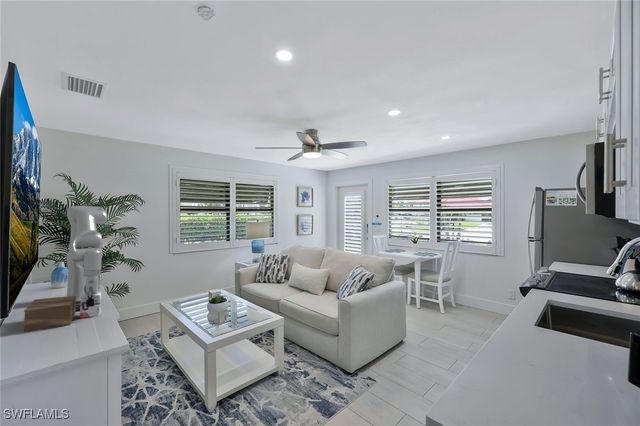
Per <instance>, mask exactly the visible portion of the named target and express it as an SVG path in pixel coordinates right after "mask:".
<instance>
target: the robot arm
mask: <svg viewBox="0 0 640 426" xmlns="http://www.w3.org/2000/svg"><path fill="white" fill-rule="evenodd" d="M66 216H67V220H68V221H69V224H70V241H69V244H68V252H67V253H66V263H67V282H66V296H74V295H77V297H76V303H77V302H81V295H82V294H85V291H84V287H85V285H86V295H87V299H86V307H92V306H94V294H97V293H98V292H99V291H100V288H99V286H100V280H99V279H100V276H101V275H102V260H103V259H102V258H103V253H104V252H103V235H102V234H101V233H100V232H98V231H97V230H98V229H97V224H98V225H102V224H103V225H104V224H106V223H107V221H108V213H107V212H106V210H105V209H104V208H103V207H102V206H93V205H92V206H90V205H71V206H69V207H68V208H66ZM98 290H99V291H98Z"/></svg>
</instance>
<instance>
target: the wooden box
mask: <svg viewBox="0 0 640 426" xmlns="http://www.w3.org/2000/svg"><path fill="white" fill-rule="evenodd" d="M76 303H77V302H76V299H75V301H74V303H73V304H72V306H71V307H66V308H57V309H49V310H40V311H32V312H24V320H23V321H24V323H23V324H24V326H23V332H33V331H39V330H47V329H53V328H61V327H66V326H71V323H72V321H73V319H74V317H75V315H76V305H77V304H76Z"/></svg>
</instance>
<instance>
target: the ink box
mask: <svg viewBox="0 0 640 426" xmlns="http://www.w3.org/2000/svg"><path fill="white" fill-rule="evenodd" d="M86 299H87V295H86V294H82V295H81V301H79V303H80V304H79V305H80V306H79V319H85V318H93V317H99V316H100V315H101V310H102V309H101V308H102V292H101V291H100V292H99V291H98V293H97V294H94V306H92V307H86Z"/></svg>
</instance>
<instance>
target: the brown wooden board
mask: <svg viewBox="0 0 640 426" xmlns="http://www.w3.org/2000/svg"><path fill="white" fill-rule="evenodd" d="M76 297H77V295H74V296H67V295H64V296H57V297H55V296H53V297H46V298H36V299H34V300H32V302H31V303H30V304H28V306H27V307H26V308H25V309H24V311H23V313H25V312H32V311H40V310H49V309H57V308H66V307H71V306H72V304H73V303H74V301H75V299H76Z"/></svg>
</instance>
